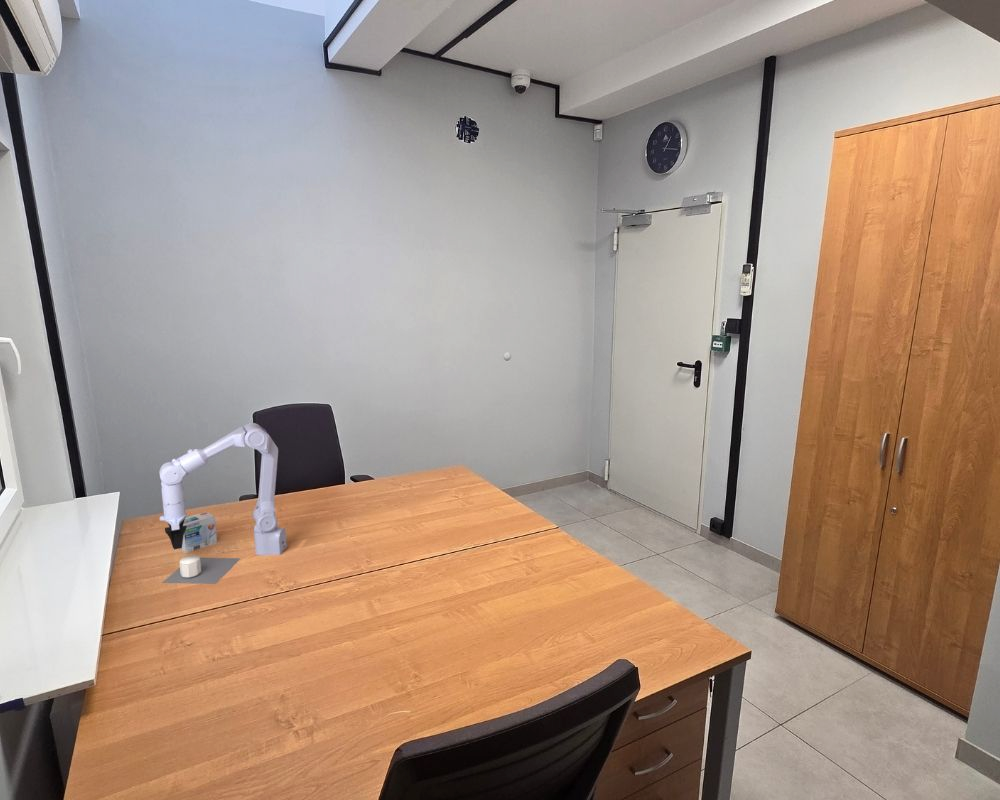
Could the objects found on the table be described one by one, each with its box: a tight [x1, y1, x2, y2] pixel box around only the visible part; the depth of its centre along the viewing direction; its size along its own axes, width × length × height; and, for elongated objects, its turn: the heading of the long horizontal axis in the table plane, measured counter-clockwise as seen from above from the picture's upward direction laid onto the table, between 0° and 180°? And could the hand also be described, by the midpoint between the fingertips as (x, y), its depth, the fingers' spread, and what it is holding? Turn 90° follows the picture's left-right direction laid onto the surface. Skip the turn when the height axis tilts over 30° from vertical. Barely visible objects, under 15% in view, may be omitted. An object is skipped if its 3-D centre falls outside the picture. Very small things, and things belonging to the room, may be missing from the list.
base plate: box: [161, 557, 242, 585], centre depth 171 cm, size 16×16×1 cm
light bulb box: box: [178, 511, 218, 554], centre depth 187 cm, size 11×7×11 cm, turn 143°
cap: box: [179, 554, 201, 577], centre depth 168 cm, size 5×5×4 cm
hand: (177, 543), depth 170 cm, fingers open, 7 cm apart
